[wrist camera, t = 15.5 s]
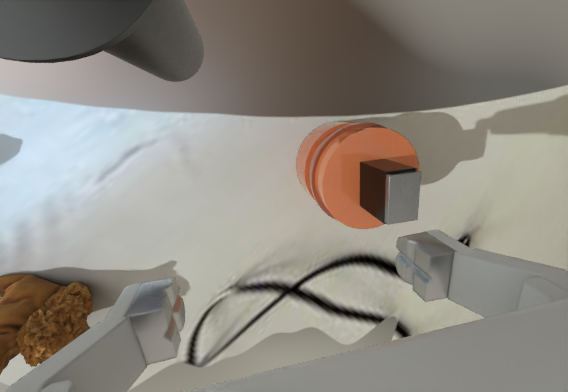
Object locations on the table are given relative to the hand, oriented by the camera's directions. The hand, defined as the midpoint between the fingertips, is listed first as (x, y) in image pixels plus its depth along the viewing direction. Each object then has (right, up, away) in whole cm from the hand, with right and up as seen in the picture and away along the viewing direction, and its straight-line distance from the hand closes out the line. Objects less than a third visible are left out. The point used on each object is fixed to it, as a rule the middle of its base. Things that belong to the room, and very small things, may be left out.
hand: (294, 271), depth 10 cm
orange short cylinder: (+7, +8, +30) cm, 32 cm away
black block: (+9, +4, +19) cm, 22 cm away
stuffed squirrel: (-34, -12, +29) cm, 46 cm away
